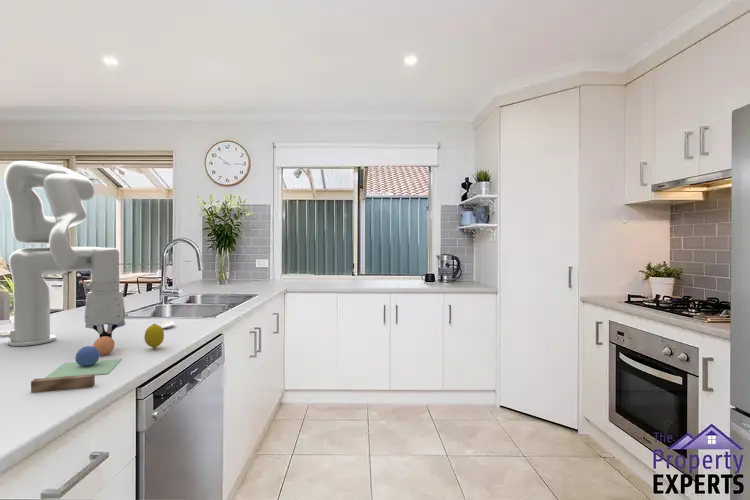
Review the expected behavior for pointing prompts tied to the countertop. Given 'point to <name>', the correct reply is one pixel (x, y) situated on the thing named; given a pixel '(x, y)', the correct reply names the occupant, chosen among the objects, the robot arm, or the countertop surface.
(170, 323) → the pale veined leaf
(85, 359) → the navy ball
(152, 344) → the lemon
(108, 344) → the orange ball
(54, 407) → the countertop surface
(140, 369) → the countertop surface
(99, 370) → the green mark
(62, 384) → the rail
